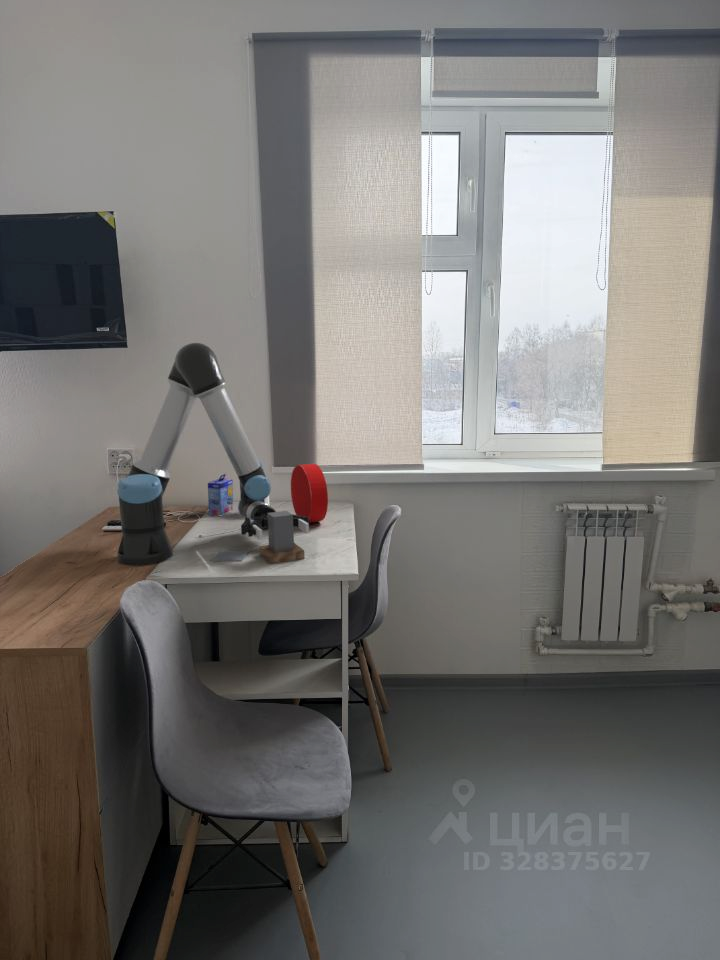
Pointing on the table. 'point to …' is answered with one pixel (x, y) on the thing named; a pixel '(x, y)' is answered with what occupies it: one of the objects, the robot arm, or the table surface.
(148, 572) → the table surface
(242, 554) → the mat
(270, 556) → the socket block
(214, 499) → the ink cartridge box
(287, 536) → the plug
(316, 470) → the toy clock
